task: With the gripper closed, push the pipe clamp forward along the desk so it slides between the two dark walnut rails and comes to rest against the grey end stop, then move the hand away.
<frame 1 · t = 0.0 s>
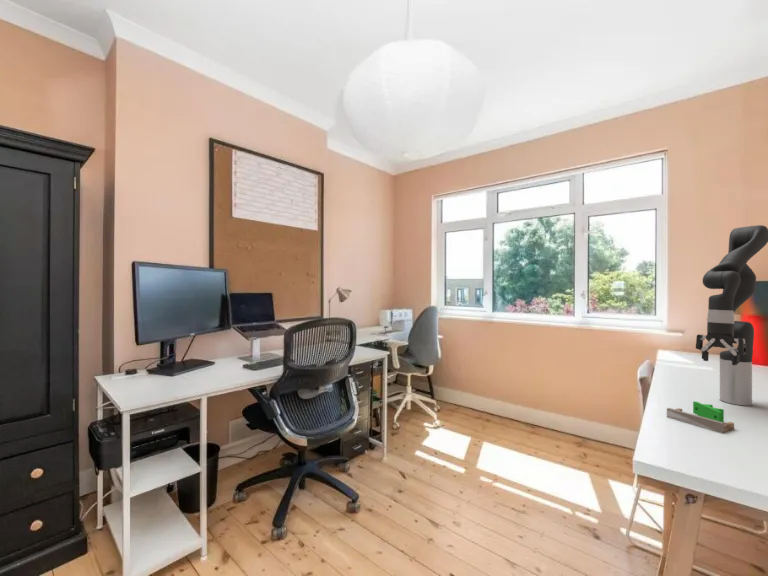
hand: (719, 362, 133), 17 cm above the table, tool pointing down, fingers open, 8 cm apart
channel stop: (699, 422, 116), on the table
pipe clamp: (711, 420, 120), on the table
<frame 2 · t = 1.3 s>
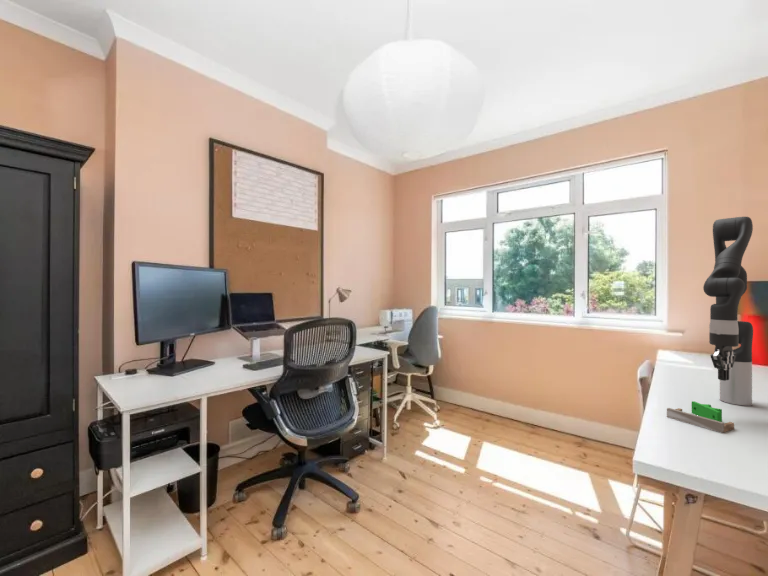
hand: (723, 379, 123), 13 cm above the table, tool pointing down, fingers closed
nothing on the table moved.
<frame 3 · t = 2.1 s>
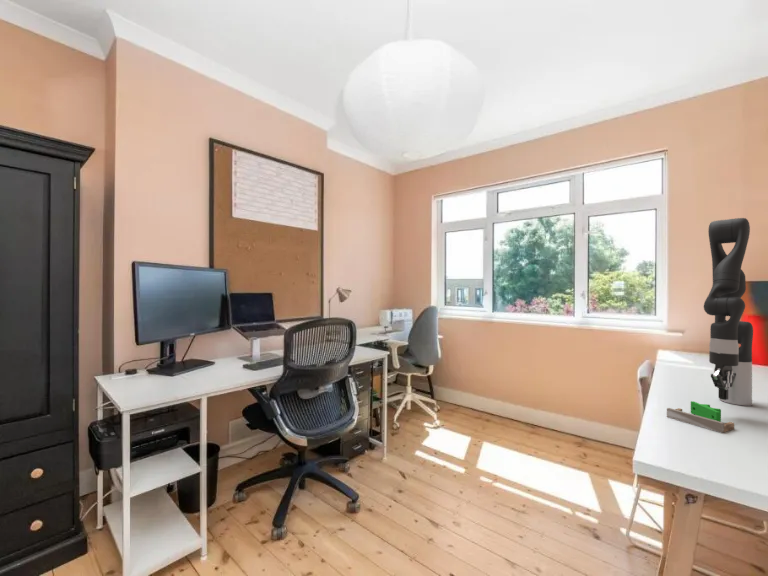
hand: (723, 399, 123), 6 cm above the table, tool pointing down, fingers closed
nothing on the table moved.
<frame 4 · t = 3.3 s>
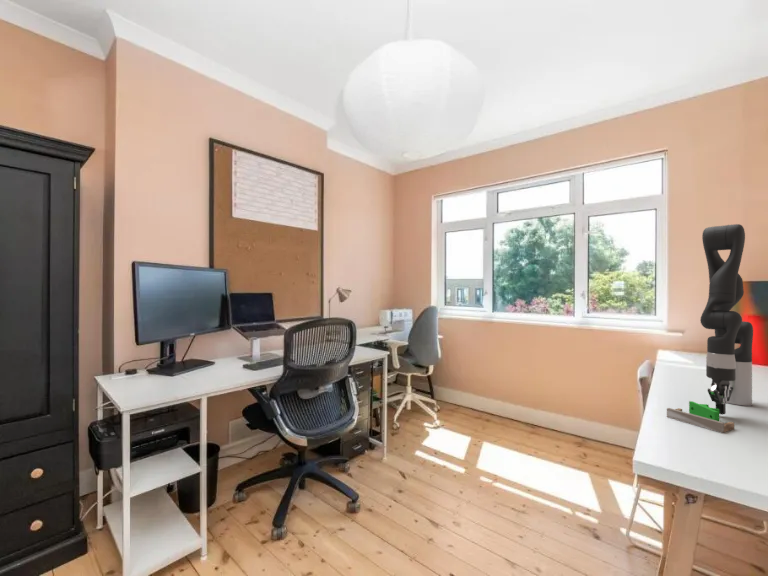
hand: (720, 413, 122), 1 cm above the table, tool pointing down, fingers closed
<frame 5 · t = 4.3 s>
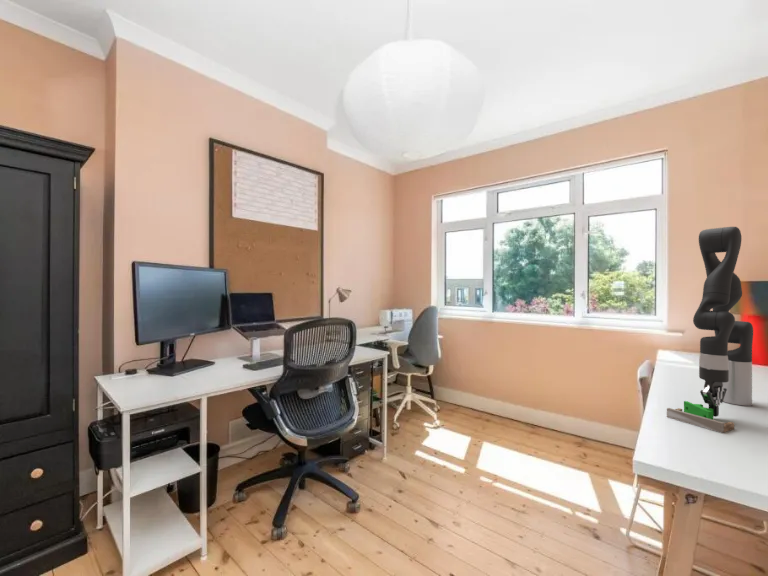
hand: (713, 415, 120), 1 cm above the table, tool pointing down, fingers closed
pipe clamp: (701, 419, 120), on the table, touching gripper
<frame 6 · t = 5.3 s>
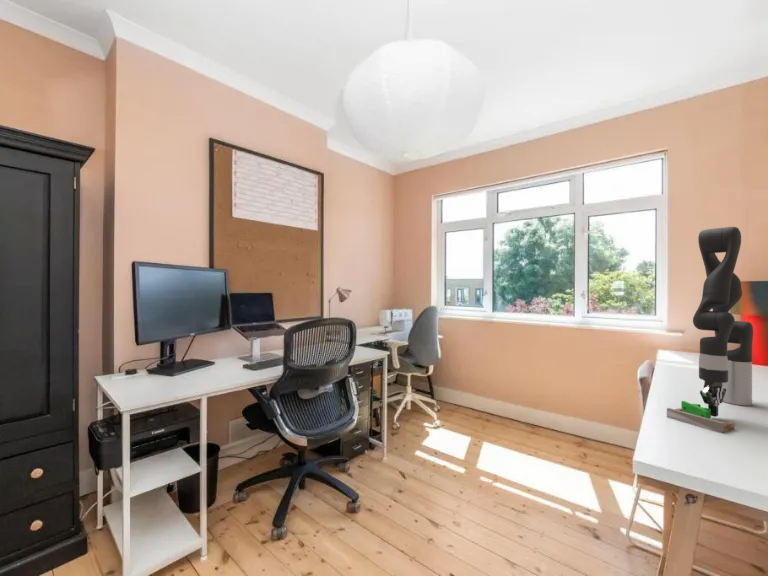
hand: (713, 415, 120), 1 cm above the table, tool pointing down, fingers closed
pipe clamp: (698, 419, 120), on the table
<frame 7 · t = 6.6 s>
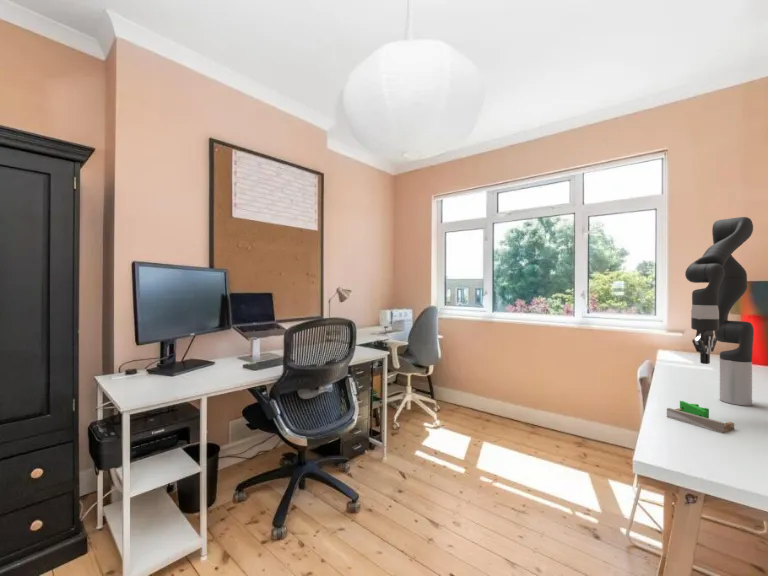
hand: (705, 363, 126), 18 cm above the table, tool pointing down, fingers closed
nothing on the table moved.
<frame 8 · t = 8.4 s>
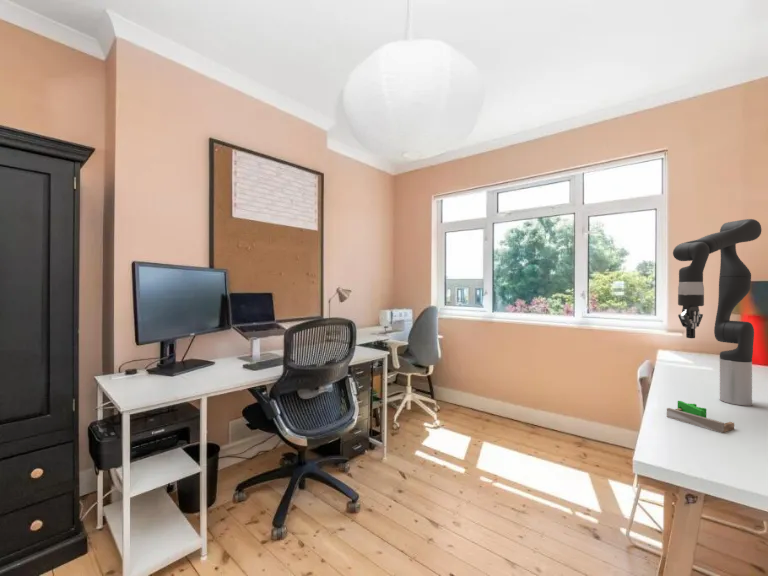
hand: (690, 338, 132), 27 cm above the table, tool pointing down, fingers closed
at the end: pipe clamp inside the target area on the channel stop (3.3 cm from its centre), point 0.0 cm above the channel stop's base; pipe clamp moved 5.6 cm from its start; the gripper is holding nothing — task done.
